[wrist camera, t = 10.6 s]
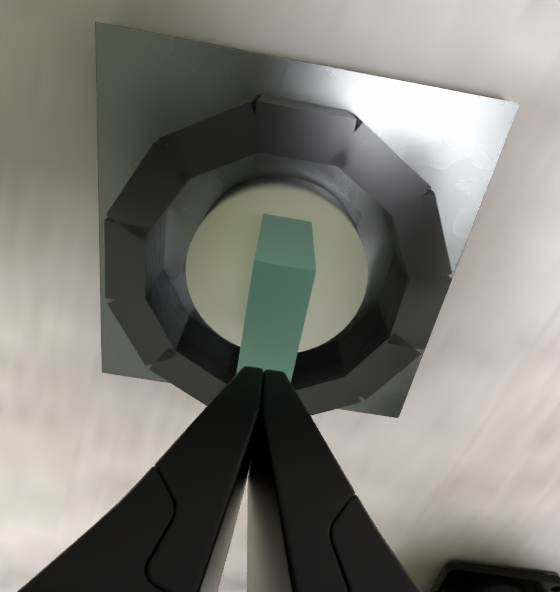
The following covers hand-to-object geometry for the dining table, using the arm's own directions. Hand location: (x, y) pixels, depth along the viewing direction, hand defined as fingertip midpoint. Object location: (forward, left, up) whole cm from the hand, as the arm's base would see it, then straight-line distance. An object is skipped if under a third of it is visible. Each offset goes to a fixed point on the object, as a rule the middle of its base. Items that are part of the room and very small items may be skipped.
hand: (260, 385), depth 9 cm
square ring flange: (0, 0, -8) cm, 8 cm away
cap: (0, 0, -7) cm, 7 cm away
